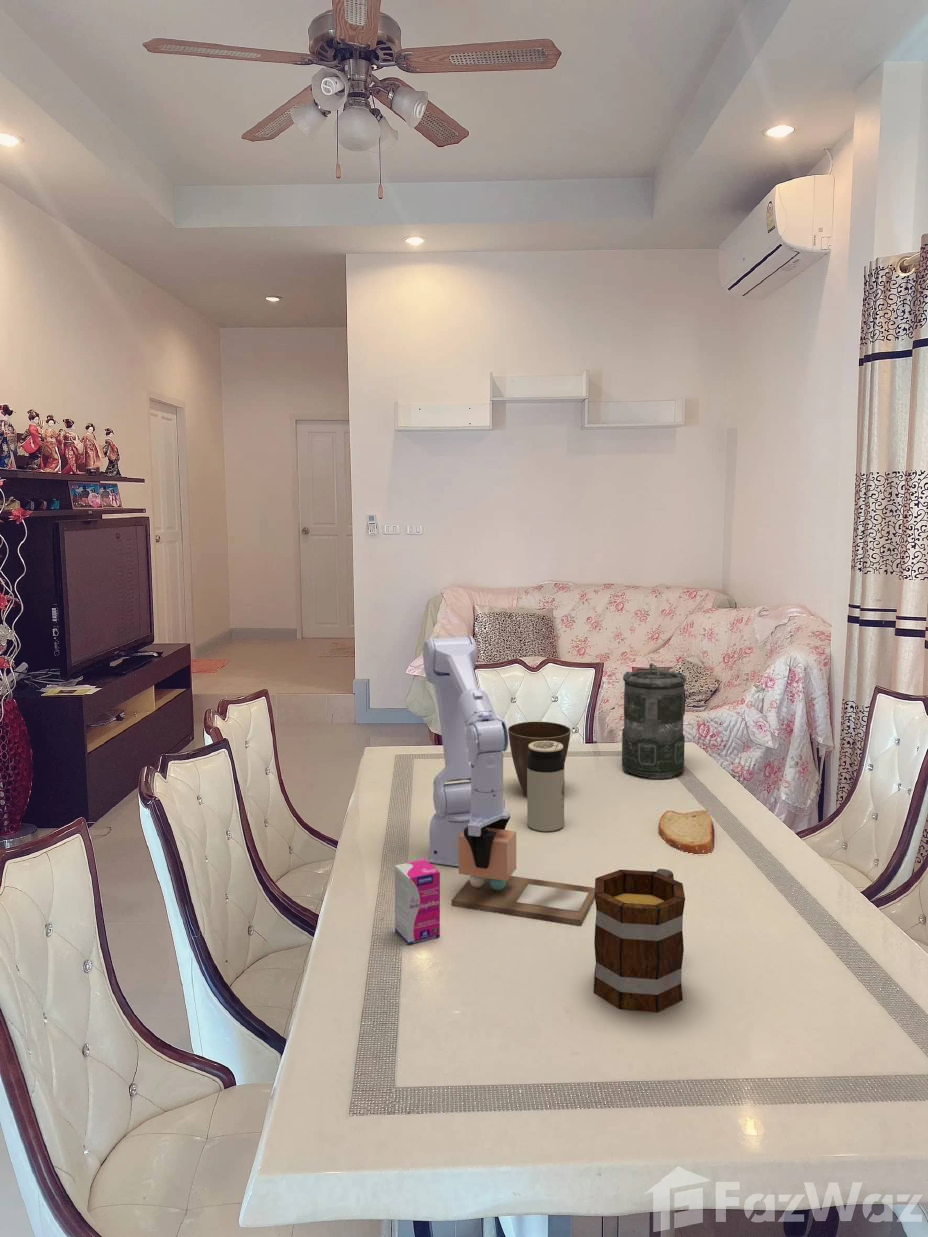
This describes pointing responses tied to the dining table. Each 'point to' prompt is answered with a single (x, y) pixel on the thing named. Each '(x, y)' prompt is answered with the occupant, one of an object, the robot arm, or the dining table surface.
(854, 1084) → the dining table surface
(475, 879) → the cream marble
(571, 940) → the dining table surface
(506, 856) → the terracotta cover
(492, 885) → the teal marble
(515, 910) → the walnut board
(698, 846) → the slice of bread
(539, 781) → the travel mug
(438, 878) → the supplement box
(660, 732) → the canister
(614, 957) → the mug
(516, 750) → the plant pot
